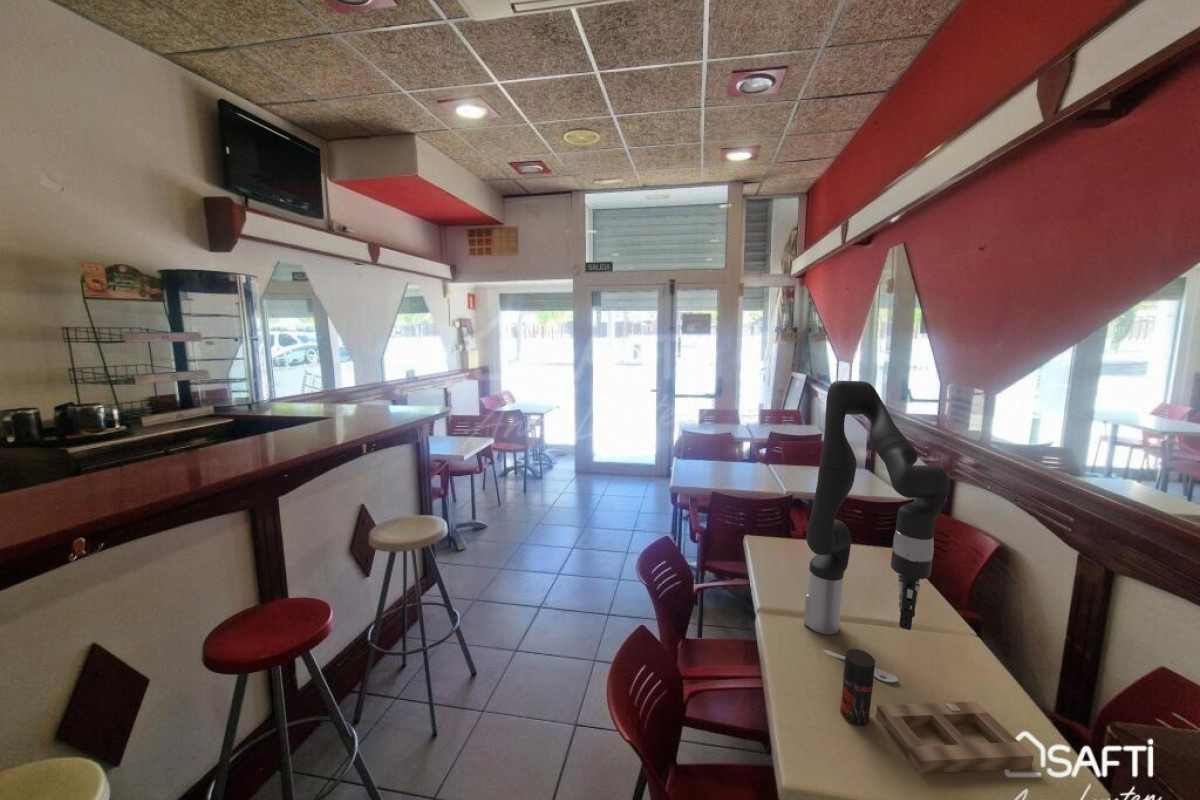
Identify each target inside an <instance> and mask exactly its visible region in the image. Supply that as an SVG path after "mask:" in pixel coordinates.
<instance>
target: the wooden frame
mask: <svg viewBox="0 0 1200 800" xmlns="http://www.w3.org/2000/svg"><path fill="white" fill-rule="evenodd" d="M875 718H876V720H877V721H878V722H879V723H880V724H881V725H882V727H883V728H884V729H885V731H886V732H887V733H888V734H889V736H890V737H891V739H892V740H893V741H894V742H895V744H896V745H897V746H898V747H899V749H900V750H901V751H902V753H903V754H904V756H906V758H907V759H908V761H910V763H911V764H912V767H914V768H915V770H916V771H917V772H918V773H919V774H922V775H923V774H940V773H959V772H962V773H963V772H982V771H983V772H984V771H985V772H986V771H1000V770H1001V771H1004V770H1026V769H1032V768H1033V762H1034V759H1035V758H1034V757H1035V755H1034V754H1033V753H1031V751H1030V750H1029V749H1028V748H1026V747H1025V746H1024V745H1023V744H1022V743H1021V742H1020V741H1019V740H1018V739H1017V738H1016V737H1014V735H1013V734H1012V733H1010V732H1009V731H1008V730H1007V729H1006V728H1005V726H1003V725H1002V724H1001V723H1000V722H999V721H997V720H996V718H994V717H993V716H992V715H991V714H990V713H989V712H988V711H987V710H986V709H985V708H984V707H983V706H982V705H980V703H979V702H978V701H976V700H975V701H955V702H953V701H952V702H950V701H949V702H933V703H932V702H930V703H929V702H927V703H907V704H906V703H903V704H902V703H901V704H881V705H878V704H877V705H876V713H875ZM955 726H973V727H974V728H975V729H976V730H977V731H979V733H980V734H982V735H983V736H984V738H985V739H986V740H988V742H989V743H987V742H986V743H970V742H969V741H968V740H967V739H966V737H964V735H962V733H961V732H960V731H959V730H958V729H957V728H956V727H955ZM925 727H926V728H927V727H931V729H932V730H933V731H934V732H935V733H936V735H938V736H939V738H940V739H941V740H942V741H943V742H944V743H945V744H943V745H940V744H939V745H924V743H923V742H922V741H921V740H920V738H919V737H918V736H917V735H916V734H915V732H914V731H913V730H912V729H911V728H925Z"/></svg>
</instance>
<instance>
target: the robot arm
mask: <svg viewBox="0 0 1200 800" xmlns="http://www.w3.org/2000/svg"><path fill="white" fill-rule="evenodd" d="M825 403H826V404H825V419H824V420H825V421H824V433H823V441H822V448H821V455H820V459H819V467H818V473H817V482H816V483H817V484H816V488H815V493H814V500H813V505H812V508H811V512H810V516H809V519H808V523H807V527H806V532H805V533H806V534H805V535H806V536H805V539H806V543H807V545H808V546H807V547H808V548H809V550H811V552H813V553H814V554H815V556H813V557H811V559H810V561H809V568H808V569H809V570H808V579H807V580H808V581H807V582H808V583H807V591H806V595H805V601H804V613H803V614H804V617H803V625H804V626H806V627H808V628H809V629H811V630H812V631H814V632H816V633H818V634H820V635H821V634H822V635H827V636H828V635H835V634H837V633H838V632H839V629H840V627H839V626H840V618H841V607H842V599H843V598H842V596H843V585H844V576H845V575H844V573H845V572H846V570H847V568H848V566H849V561H850V554H851V546H852V537H851V533H850V529H849V528H848V526H847V524H845V523H844V522H843V521H841V520H839V519H836V516H837V513H838V511H839V509H840V507H841V506H842V504H843V503H844V502H845V499H846V498H847V497H848V495H849V493H850V492H851V490H852V489H853V486H854V482H855V478H856V471H857V466H858V465H857V463H858V461H857V457H856V454H855V453H854V451H853V449H852V447H851V445H850V442H849V441H848V439H847V436H846V434H845V433H846V432H845V421H846V420H845V419H846V415H852V416H853V415H854V416H855V415H857V416H860V415H863V416H864V417H865V418H866V419H867V420H868V421H869V422H870V424H871V425H870V430H869V439H870V443H871V446H872V448H873V449H874V451H875V452H876V454H877V455H878V456H879V458H880V459H881V460H882V461H883V462H884V465H885V467H886V471H887V473H888V476H889V480H890V484H891V486H892V488H893V490H894V491H895V492H896V493H898V495H900V496H902V497H905V498H909V499H915V500H914V501H912V502H910V503H907V504H903V505H901V506H899V508H898V510H897V516H896V524H895V525H896V526H895V533H894V536H893V540H892V541H893V542H892V550H891V561H890V568H891V569H892V570H893V571H894V572H895V573H897V574H898V578H897V579H898V584H897V585H898V589H899V590H898V601H899V603H898V607H899V612H900V616H899V623H898V624H899V628H901V629H904V630H908V631H911V630H912V625H913V618H915V616H916V612H915V611H916V606H917V604H918V598H919V592H920V588H921V585H920V580H926V579H929V578H930V577H931V573H932V566H933V556H934V549H935V548H934V547H935V545H934V544H935V543H934V537H935V528H936V520H937V518H938V516H939V515H940V513H941V510H942V508H943V506H944V504H945V502H946V500H947V499H948V498H947V497H948V495H949V492H950V486H951V484H950V477H949V475H948V474H947V472H946V470H944V468H942V467H941V466H938V465H934V464H933V465H931V464H930V465H929V464H928V465H927V464H926V465H925V464H920V465H917V464H916V463H917V461H918V458H919V454H918V451H917V450H916V448H915V446H913V445H912V443H911V442H910V441H909V440H908V439H907V437H905V435H904V434H903V433H902V431H900V429H899V428H898V427H897V425H896V424H895V422H894V420H893V419H892V417H891V415H890V414H889V411H888V410H887V408H886V405H885V404H884V402H883V400H882V399H881V397H880V395H879V393H878V391H877V389H876V388H875V387H874V386H873V385H872V384H871V383H869V382H867V381H864V380H863V381H862V380H835V381H832V383H831V384H830V385H829V387H828V391H827V394H826V402H825ZM915 464H916V465H915Z"/></svg>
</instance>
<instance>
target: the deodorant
mask: <svg viewBox="0 0 1200 800" xmlns="http://www.w3.org/2000/svg"><path fill="white" fill-rule="evenodd" d="M844 657H845V660H844V666H843V677H842V687H841V698H840V699H841V700H840V706H839V708H840V710H839V711H840V715H841V717H842V718H843V719H844V720H845V721H847V722H848V723H850V724H852V725H854V726H857V727H865V726H867V725H869V722H870V714H871V707H872V705H871V703H872V698H873V697H872V695H873V687H874V686H873V685H874V679H875V677H874V669H875V668H876V659H875V658H874V657H873V656H872V655H871V654H870V653H868V652H867V651H864V650H862V649H857V648H850V649H847V650H846V651H845V655H844Z"/></svg>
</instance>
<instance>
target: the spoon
mask: <svg viewBox="0 0 1200 800" xmlns="http://www.w3.org/2000/svg"><path fill="white" fill-rule="evenodd" d="M823 652H824V653H825V654H827V655H828V656H830V657H833V658H836V659H839V660H842V661H845V655H841V654H839V653H836V652H834V651H831V650H828V649H823ZM880 676H883V677H885V676H886V677H885V678H882V677H880ZM874 678H875V679H877V680H879V681H881V682H886V683H898V682H899V681H900V680H899V679H898V677H897V676H895V675H893V674H891V673H889V672H887V671H884V670H882V669H880V668H877V667H875V669H874ZM886 678H887V679H886Z"/></svg>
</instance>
